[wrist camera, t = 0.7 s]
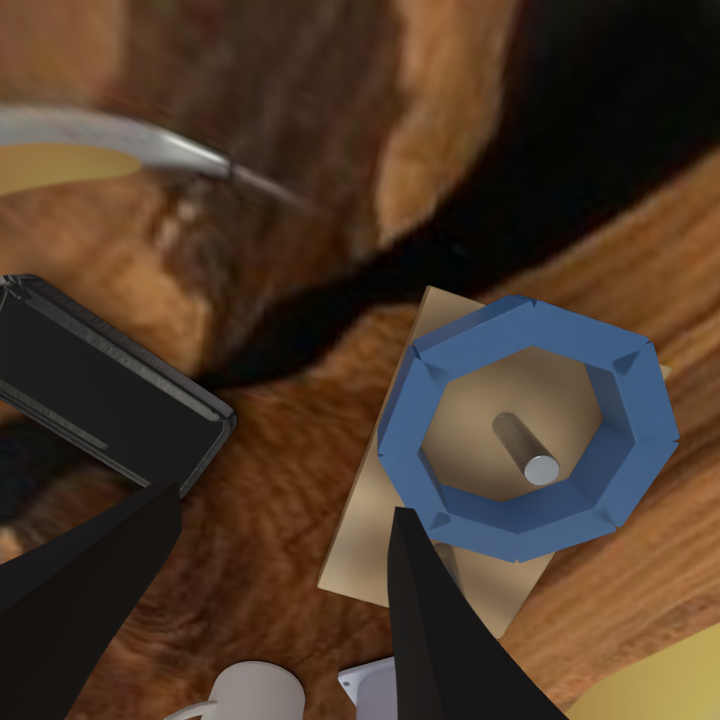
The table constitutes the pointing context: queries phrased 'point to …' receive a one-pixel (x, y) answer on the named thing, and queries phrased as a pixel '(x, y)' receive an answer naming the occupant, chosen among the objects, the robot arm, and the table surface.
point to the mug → (250, 695)
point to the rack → (472, 465)
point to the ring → (596, 466)
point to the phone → (104, 388)
